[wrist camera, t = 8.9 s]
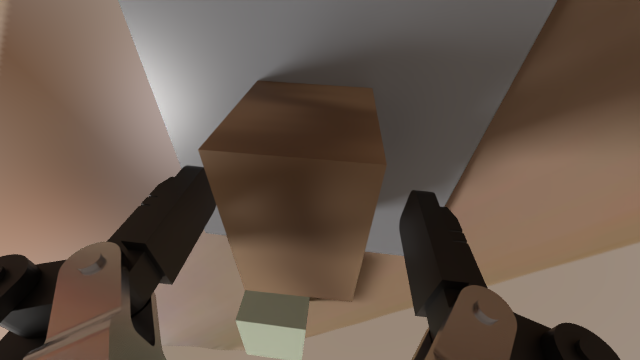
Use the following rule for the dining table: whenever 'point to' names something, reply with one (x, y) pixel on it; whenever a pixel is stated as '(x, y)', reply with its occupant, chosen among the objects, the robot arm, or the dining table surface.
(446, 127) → the plate
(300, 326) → the sage brick
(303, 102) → the walnut brick
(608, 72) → the dining table surface
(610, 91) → the dining table surface
